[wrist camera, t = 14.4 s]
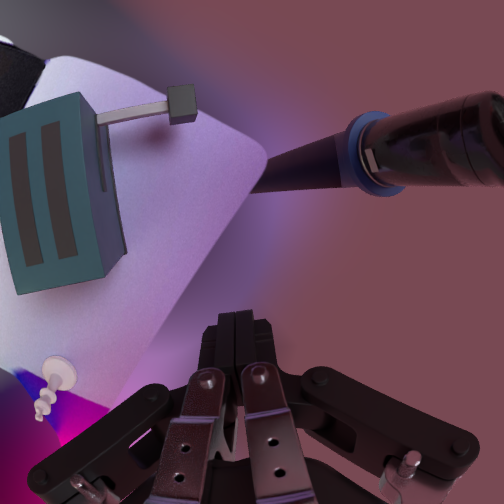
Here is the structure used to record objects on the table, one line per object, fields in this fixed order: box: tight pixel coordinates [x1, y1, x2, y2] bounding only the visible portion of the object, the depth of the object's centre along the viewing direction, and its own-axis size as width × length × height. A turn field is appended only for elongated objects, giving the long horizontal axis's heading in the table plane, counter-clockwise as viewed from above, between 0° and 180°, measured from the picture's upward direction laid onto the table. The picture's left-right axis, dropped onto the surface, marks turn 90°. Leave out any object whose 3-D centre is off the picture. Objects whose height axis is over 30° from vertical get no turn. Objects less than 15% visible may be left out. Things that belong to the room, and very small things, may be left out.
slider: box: [97, 84, 198, 127], centre depth 25 cm, size 9×3×3 cm, turn 99°
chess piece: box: [34, 356, 77, 421], centre depth 27 cm, size 5×5×10 cm
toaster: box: [0, 92, 127, 295], centre depth 24 cm, size 8×14×12 cm, turn 9°
